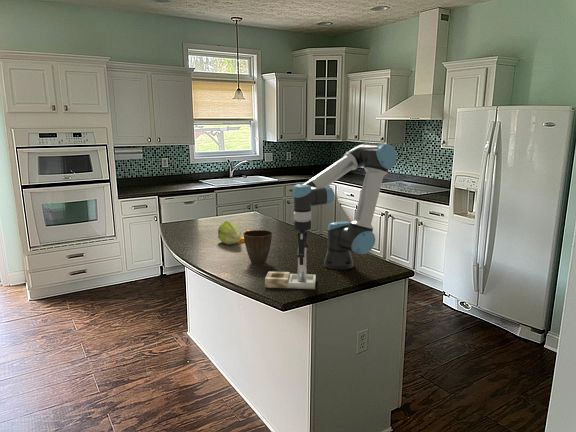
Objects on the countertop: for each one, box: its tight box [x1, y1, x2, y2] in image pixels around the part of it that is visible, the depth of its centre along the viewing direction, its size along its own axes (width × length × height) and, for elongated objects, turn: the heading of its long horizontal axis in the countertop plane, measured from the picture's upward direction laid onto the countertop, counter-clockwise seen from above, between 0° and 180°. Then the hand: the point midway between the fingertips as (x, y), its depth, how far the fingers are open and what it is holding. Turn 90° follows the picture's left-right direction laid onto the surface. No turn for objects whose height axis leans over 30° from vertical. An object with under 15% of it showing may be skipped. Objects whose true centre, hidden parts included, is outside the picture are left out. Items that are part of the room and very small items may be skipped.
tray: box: [287, 273, 317, 290], centre depth 193 cm, size 12×12×2 cm
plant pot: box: [243, 229, 273, 266], centre depth 222 cm, size 15×15×16 cm
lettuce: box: [217, 220, 242, 246], centre depth 257 cm, size 13×22×14 cm, turn 28°
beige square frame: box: [264, 271, 291, 289], centre depth 193 cm, size 10×10×4 cm
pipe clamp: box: [236, 229, 252, 245], centre depth 265 cm, size 12×4×6 cm, turn 135°
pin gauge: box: [297, 246, 308, 283], centre depth 192 cm, size 4×4×16 cm
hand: (302, 266), depth 192 cm, fingers open, 13 cm apart
